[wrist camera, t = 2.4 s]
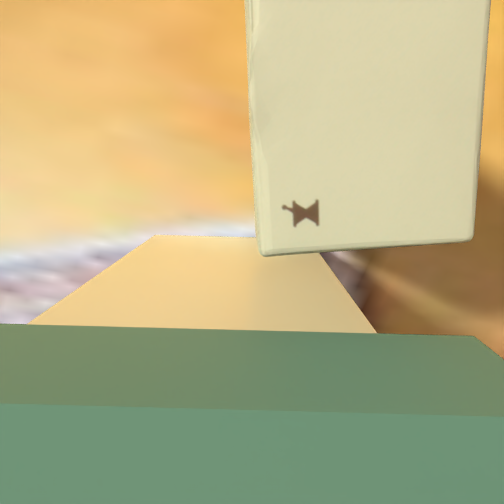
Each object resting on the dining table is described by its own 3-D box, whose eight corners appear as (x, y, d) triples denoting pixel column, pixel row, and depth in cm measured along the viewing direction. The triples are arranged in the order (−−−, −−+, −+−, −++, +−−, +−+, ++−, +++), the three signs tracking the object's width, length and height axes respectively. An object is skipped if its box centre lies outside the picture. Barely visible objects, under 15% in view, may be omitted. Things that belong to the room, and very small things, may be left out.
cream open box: (161, 402, 21) (47, 691, 10) (155, 234, 19) (-6, 346, 7) (298, 406, 21) (350, 700, 10) (308, 238, 19) (394, 357, 7)
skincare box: (338, 198, 18) (479, 254, 7) (254, 202, 19) (252, 265, 7) (338, 67, 17) (516, -143, 5) (247, 73, 17) (230, -122, 5)
